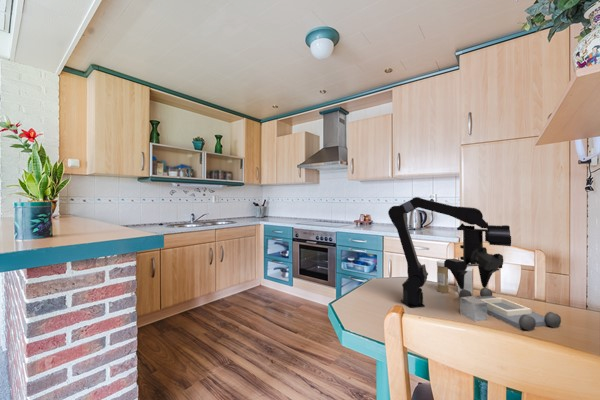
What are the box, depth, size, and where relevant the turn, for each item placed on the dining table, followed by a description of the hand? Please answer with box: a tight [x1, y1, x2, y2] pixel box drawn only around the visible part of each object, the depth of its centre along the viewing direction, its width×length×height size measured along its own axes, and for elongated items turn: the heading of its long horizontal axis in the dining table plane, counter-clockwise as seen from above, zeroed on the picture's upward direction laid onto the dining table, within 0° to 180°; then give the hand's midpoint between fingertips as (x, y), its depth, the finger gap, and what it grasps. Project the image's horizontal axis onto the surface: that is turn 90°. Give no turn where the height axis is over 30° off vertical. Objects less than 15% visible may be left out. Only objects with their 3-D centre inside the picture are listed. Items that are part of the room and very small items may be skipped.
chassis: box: [458, 287, 562, 332], centre depth 92 cm, size 14×25×4 cm, turn 11°
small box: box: [457, 266, 474, 296], centre depth 114 cm, size 8×6×10 cm
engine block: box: [459, 295, 488, 322], centre depth 89 cm, size 5×6×6 cm
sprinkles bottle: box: [436, 260, 449, 294], centre depth 114 cm, size 5×5×14 cm
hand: (473, 288), depth 89 cm, fingers open, 9 cm apart
